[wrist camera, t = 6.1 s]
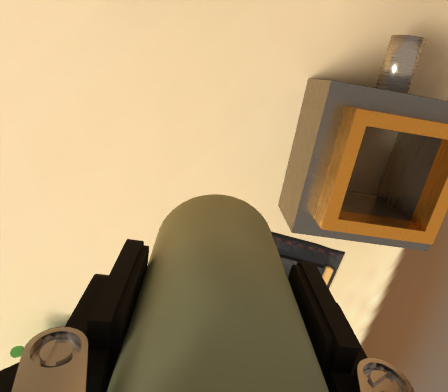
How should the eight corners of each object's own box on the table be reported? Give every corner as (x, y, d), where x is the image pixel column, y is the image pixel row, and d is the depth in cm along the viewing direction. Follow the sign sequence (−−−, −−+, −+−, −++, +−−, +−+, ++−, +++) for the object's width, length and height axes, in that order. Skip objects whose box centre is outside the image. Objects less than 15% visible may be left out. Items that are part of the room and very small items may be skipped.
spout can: (162, 186, 13) (-7, 589, 3) (284, 203, 14) (501, 605, 3) (151, 290, 15) (20, 772, 5) (260, 302, 15) (356, 767, 5)
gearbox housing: (320, 28, 28) (360, 12, 20) (454, 54, 29) (539, 47, 21) (278, 205, 33) (297, 244, 26) (392, 221, 34) (442, 263, 27)
